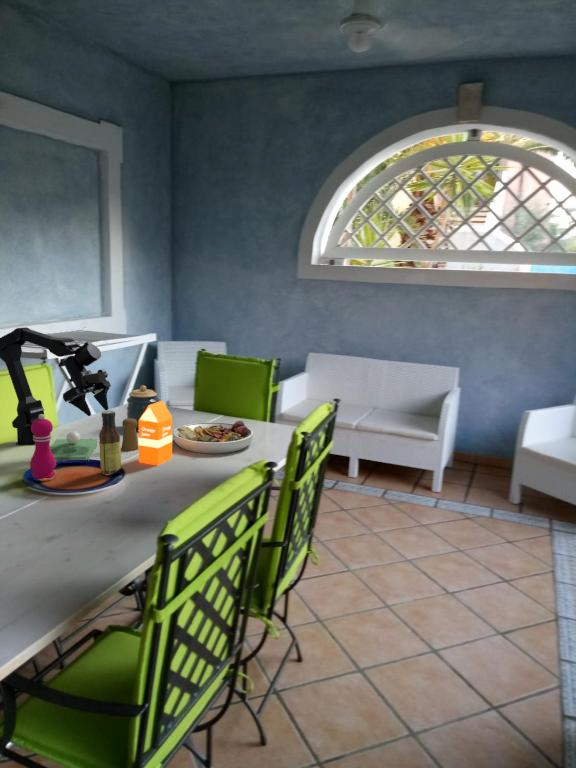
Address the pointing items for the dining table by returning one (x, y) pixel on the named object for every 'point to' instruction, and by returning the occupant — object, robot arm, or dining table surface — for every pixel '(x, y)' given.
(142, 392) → the canister
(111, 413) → the sauce bottle
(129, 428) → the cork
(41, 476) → the pepper mill
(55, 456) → the green flat block
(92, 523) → the dining table surface
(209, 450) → the bowl
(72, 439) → the ball
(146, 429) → the orange juice
